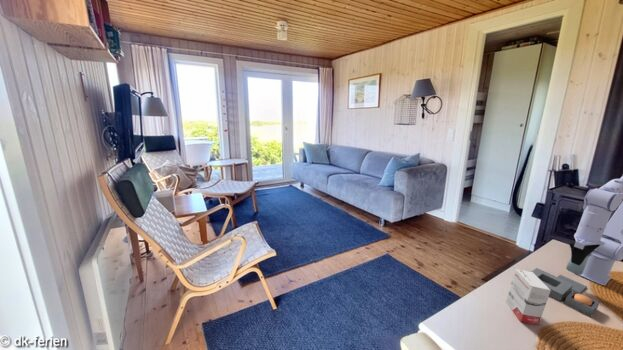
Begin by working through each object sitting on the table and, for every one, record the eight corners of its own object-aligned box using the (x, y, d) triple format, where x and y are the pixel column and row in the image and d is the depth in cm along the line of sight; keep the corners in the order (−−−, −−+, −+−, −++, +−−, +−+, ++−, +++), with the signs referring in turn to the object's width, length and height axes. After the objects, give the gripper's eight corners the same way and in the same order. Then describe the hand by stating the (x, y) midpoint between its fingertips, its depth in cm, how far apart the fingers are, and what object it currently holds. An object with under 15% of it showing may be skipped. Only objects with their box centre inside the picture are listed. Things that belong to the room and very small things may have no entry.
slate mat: (559, 275, 95) (560, 274, 95) (586, 287, 89) (586, 286, 89) (552, 281, 91) (552, 280, 91) (579, 294, 86) (579, 293, 86)
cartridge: (567, 265, 92) (575, 245, 90) (584, 272, 88) (593, 251, 86) (563, 269, 89) (571, 248, 87) (581, 276, 86) (589, 255, 84)
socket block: (534, 273, 95) (536, 267, 95) (570, 290, 87) (573, 284, 86) (522, 282, 90) (524, 276, 89) (559, 301, 82) (562, 294, 81)
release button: (574, 298, 83) (577, 292, 82) (591, 306, 80) (594, 300, 79) (570, 302, 81) (573, 296, 80) (587, 311, 78) (590, 304, 77)
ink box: (539, 326, 72) (552, 290, 69) (520, 322, 73) (532, 287, 70) (522, 303, 80) (533, 270, 77) (504, 300, 81) (514, 268, 78)
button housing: (570, 296, 84) (573, 290, 84) (596, 309, 79) (599, 302, 79) (564, 303, 81) (566, 296, 80) (590, 316, 76) (593, 310, 76)
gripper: (603, 236, 77) (587, 274, 81) (616, 226, 84) (600, 262, 88) (571, 225, 83) (558, 262, 87) (586, 217, 90) (573, 251, 94)
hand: (577, 261), depth 88 cm, fingers closed on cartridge, 4 cm apart
